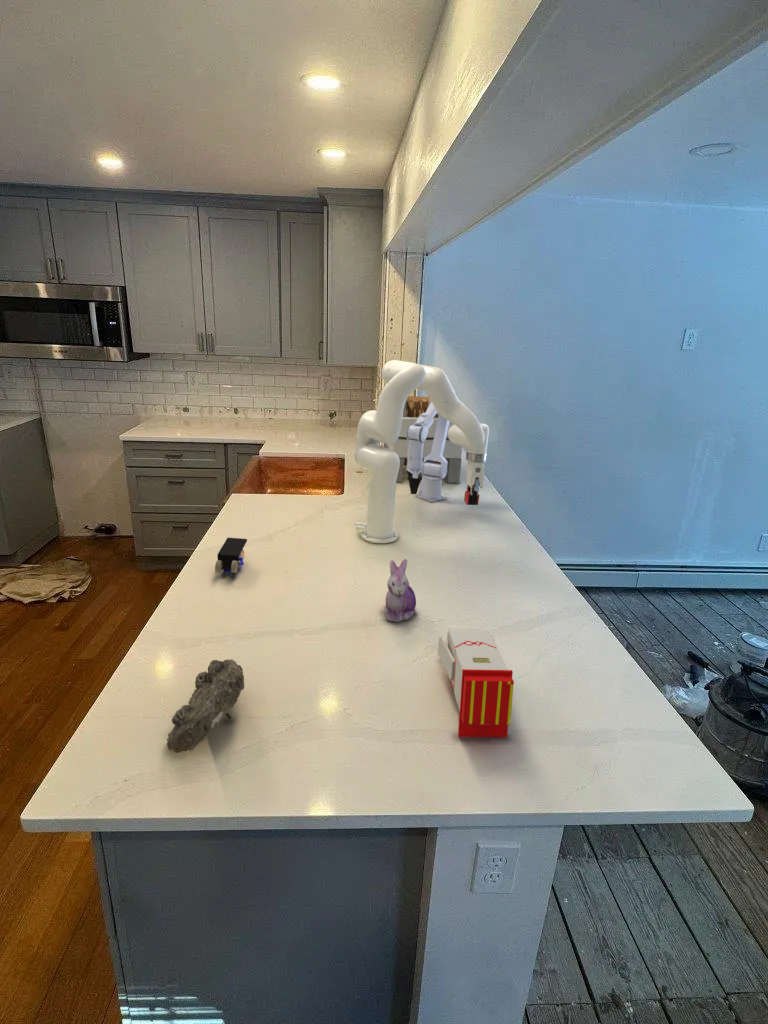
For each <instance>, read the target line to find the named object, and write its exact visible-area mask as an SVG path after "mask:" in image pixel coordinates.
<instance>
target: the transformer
mask: <svg viewBox="0 0 768 1024" xmlns="http://www.w3.org/2000/svg"><path fill="white" fill-rule="evenodd" d="M456 396H457V397H458V395H457V394H456ZM429 405H430V398H429V396H415V395H414V396H413V395H412V396H411V395H409V396H408V398H407V400H406V402H405V405H404V410H403V416H402V423H401V430H400V435H399V438H398V440H397V441H396V442H395V443H392V444H386V443H383V446H384V447H386V448H389V449H391V450H393V451H394V452H395V453H396V454H397V455H398V457H399V459H400V467H399V471H398V475H397V480H396V483H402V482H403V475H404V469H405V466H407V461H408V444H407V438H406V433H407V429H408V427H409V426H411V425H414V423H415V422H416V421H417V419H418V418H419V416H420V415H421V414H422V413H425V412H426V410H427V409H428V407H429ZM437 421H438V414H436V415H435V416H434V417H433V423H432V425H431V426H430V428H429V429H428V434H427V437H426V440H425V441H424V445H423V460H422V463H423V461H424V458H425V457H426V456H428V455H429V454H431V450H432V445H433V440H434V436H435V431H436V426H437ZM453 425H455V424H454V423H452V422H449V427H448V430H449V429H450V427H451V426H453ZM462 453H463V446H461V445H458V444H455V443H453V442H451V441H450V440H449V438H448V431H447V436H446V441H445V446H444V451H443V457H444V458H445V459H446V460H447V462H448V464H447V474H446V476H445V478H444V479H445V481H446V482H447V483H449V484H455V483H456V484H459V483H461V472H462V461H463V460H462ZM431 462H435V461H431ZM435 463H440V462H435ZM440 464H441V463H440Z"/></svg>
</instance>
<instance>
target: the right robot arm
mask: <svg viewBox="0 0 768 1024" xmlns="http://www.w3.org/2000/svg"><path fill="white" fill-rule="evenodd" d="M436 414H438V421H437V426H436V431H435V436H434V440H433V445H432V450H431V454H429V455H428V456H426V457H425V458H424V461H423V463H422V460H423V445H424V441H425V440H426V437H427V434H428V429H429V428H430V426H431V425H432V423H433V417H434V416H435V415H436ZM449 422H450V421H449V420H447V419H445V418H444V417H442V416H441V415H440V414H439V413H438V412H437V411H436V409H435V407H434V405H433V403H432V401H431V400H430V405H429V407H428V409H427V410H426V412H425V413H422V414H421V415H420V416H419V418H418V419H417V421H416V422H415V423H414V425H411V426H409V427H408V429H407V433H406V438H407V444H408V461H407V465H406V474H407V480H408V485H409V490H410V494H411V495H416V497H418V498H421V499H423V500H425V501H428V502H430V503H433V502H438V501H442V500H445V499H446V497H444V496H442V483H443V479H445V476H446V474H447V464H448V462H447V460H446V459H445V458H444V457H443V451H444V446H445V441H446V436H447V431H448V427H449ZM431 461H435V462H440V463H441V464H440V463H435V462H431ZM420 474H421V476H420Z"/></svg>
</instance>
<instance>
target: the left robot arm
mask: <svg viewBox="0 0 768 1024" xmlns="http://www.w3.org/2000/svg"><path fill="white" fill-rule="evenodd" d="M381 377H382V380H383V381H384V382H385V383H386V384H385V385H384V387H383V388H382V390H381V391H380V394H379V397H378V400H377V408H376V410H374V409H372V410H368V411H366V412H365V413H363V414H362V416H361V417H360V419H359V421H358V423H357V429H356V437H355V446H354V461H355V464H356V465H357V466H358V467H359V468H360V469H363V470H365V471H367V472H369V473H371V477H370V479H369V481H368V483H367V489H366V490H367V491H366V519H365V520H366V521H364V522H362V521H355V522H354V527H355V529H356V530H361V534H360V535H361V538H362V539H363V540H364V541H366V542H368V543H373V544H389V543H393V542H395V541H397V540H398V537H399V534H398V532H397V531H396V530H395V528H394V527H395V510H396V509H395V508H396V507H395V506H396V491H397V490H396V489H397V482H396V480H397V475H398V471H399V467H400V459H399V457H398V455H397V454H396V453H395V452H394V451H393V450H391V449H389V448H386V447H384V445H381V444H380V443H382V444H384V443H386V444H392V443H395V442H396V441H397V440H398V438H399V435H400V430H401V423H402V416H403V410H404V405H405V402H406V400H407V398H408V396H411V394H412V393H414V392H415V391H416V390H419V391H423V392H425V393H426V394H427V397H429V398H430V400H431V401H432V403H433V405H434V407H435V409H436V411H437V412H438V413H439V414H440V415H441V416H442V417H444V418H445V419H447V420H449V421H450V422H452V423H454V424H455V425H453V426H451V427H450V429H449V430H448V438H449V440H450V441H451V442H453V443H455V444H458V445H461V446H462V447H465V448H466V450H465V451H466V453H465V461H466V462H467V463H466V470H465V482H466V491H471V492H470V495H469V505H468V506H478V505H477V500H478V494H479V491H480V489H483V487H484V478H485V463H486V461H487V452H488V444H489V435H490V426H489V425H488V424H486V423H481V422H480V420H479V419H478V418H477V417H476V415H475V414H474V412H472V411H471V410H470V409H469V408H468V407H467V406H466V405H465V404H464V403H463V402H462V401H461V400H460V399H459V397H458V395H457V392H455V390H454V387H453V386H452V384H451V381H450V380H449V377H448V376H447V374H446V372H445V371H444V370H443V369H442V368H440V367H437V366H433V365H426V364H419V363H417V362H412V361H404V360H399V359H398V360H397V359H392V360H389V361H387V362H386V363H385V364H384V365H383V367H382V369H381ZM456 395H457V396H456Z"/></svg>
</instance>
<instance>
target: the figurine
mask: <svg viewBox="0 0 768 1024" xmlns="http://www.w3.org/2000/svg"><path fill="white" fill-rule="evenodd" d="M407 567H408V559H406V558H404V559H403V560H402V561H401V563H400V565H399V566H398V565H397V563H396V562H395V561H394V560H393V559H391V560H390V561H389V570H390V576H389V578H388V579H387V589H388V591H387V592H386V594H385V595H386V596H385V607H384V615H385V616H386V620H387V621H391V622H395V623H400V622H402V621H406V620H409V619H410V618H411V617H413V616H414V615H415V610H416V606H417V597H416V593H415V591H414V590H413V587H411V586H410V582H409V579H408V577H407V574H406V571H407Z"/></svg>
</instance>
